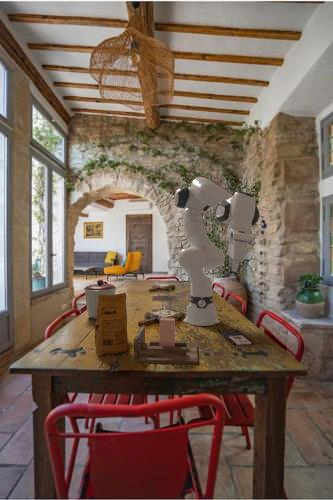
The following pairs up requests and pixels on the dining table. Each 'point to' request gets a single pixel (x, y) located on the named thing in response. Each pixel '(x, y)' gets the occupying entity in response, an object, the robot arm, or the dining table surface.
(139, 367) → the dining table surface
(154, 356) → the rack
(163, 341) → the tile
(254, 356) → the dining table surface
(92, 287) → the canister
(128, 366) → the dining table surface
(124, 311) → the coffee package
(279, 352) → the dining table surface
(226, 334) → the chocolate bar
